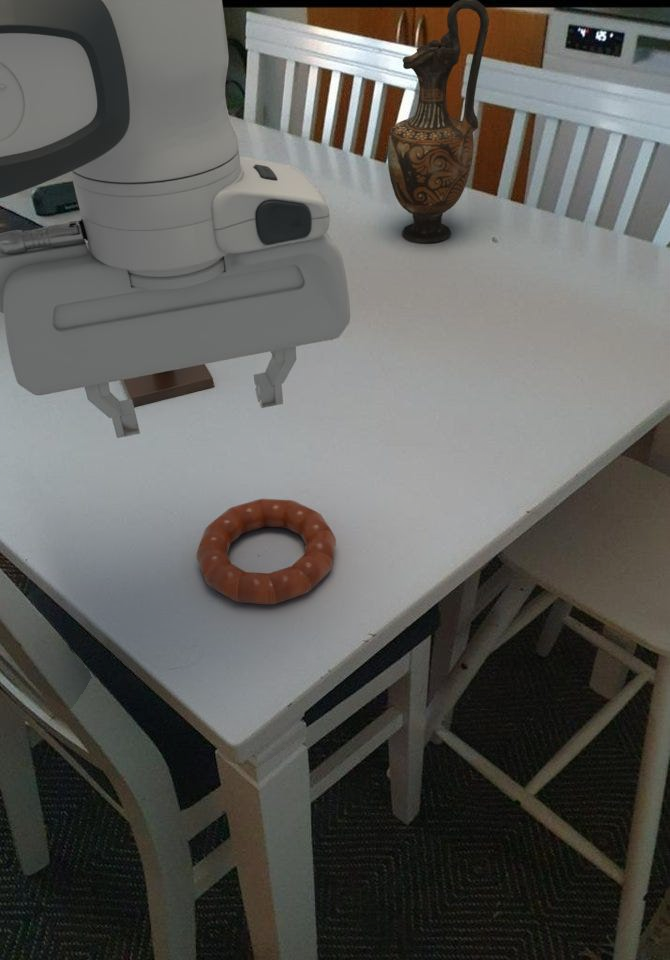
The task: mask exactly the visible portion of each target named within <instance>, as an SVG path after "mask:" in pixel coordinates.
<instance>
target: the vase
mask: <svg viewBox="0 0 670 960" xmlns="http://www.w3.org/2000/svg"><path fill="white" fill-rule="evenodd" d="M463 9H466V10H471V11H473V12H475V13H476V14H477V16H478V18H479V30H478V33H477V38H476V43H475V47H474V50H473V56H472V59H471V63H470V69H469V74H468V80H467V85H466V90H465V91H466V92H465V99H464V109H463V116H462V120H461V119H459V118H456V117H453V116H452V115H451V114H450V113H449V110H448V103H447V86H448V80H449V77H450V75H451V72H452V70H453V68H454V66H455V65H457V64H458V63H459V61H460V55H461V42H460V37H459V23H458V17H457V15H458V13H459V12H460V10H463ZM446 23H447V24H446V25H447V29H448V30H447V32H446V33H445V34H444V35H442V36H441V38H440V40H439V39H432V40H430V41H429V42H428V43H425V44H422V45H421V46H419V47H417V48H416V51H415V52H414V53H413V54H412V55H407V56H404V57H403V58H402V63H403V64H402V67H403V69H404V70H410V69H411V70H412V71H413V72H414V74H415V76H416V78H417V80H418V84H419V85H418V87H419V92H418V102H417V107H416V110H415V113H414V115H413V116H412V117H410V118H409V117H408V118H405V119H403V120H401V121H399V122H397V123H395V124H394V125H393V126H392V127H391V128H390V130H389V131H388V135H387V143H386V144H387V146H386V147H387V148H386V151H387V152H386V154H387V155H386V157H387V166H388V175H389V179H390V182H391V183H390V184H391V187H392V190H393V193H394V196H395V198H396V200H397V202H398V204H399V205H400V206H401V208H402V209H404V210H405V211H407V213H409V214H411V215H412V220H413V222H412V223H410V224H407V225H406V226H404V227H403V228H402V232H401V236H402V238H404V239H405V240H406V241H408V242H411V243H417V244H433V243H440V242H443V241H445V240H447V239H449V238H450V237H451V236H452V230H451V229H450V227H449V226H447V225H446V224H444V223H442V221H443V215H444V213H446V212H447V211H449V210H450V209H452V208H453V207H454V206H455V205H456V204H457V203H458V202H459V200H460V198H461V196H462V194H463V193H464V191H465V188H466V186H467V183H468V180H469V176H470V173H471V168H472V165H473V164H472V163H473V157H474V144H475V143H474V132H475V131H476V130H477V129H479V121H478V117H477V115H476V113H475V97H476V91H477V83H478V78H479V73H480V68H481V63H482V59H483V53H484V49H485V44H486V40H487V37H488V31H489V29H488V28H489V25H490V19H489V14H488V10H487V8H486V7H485V5H483V4H482V3H481V1H479V0H458V1H455V2H454V3H453V4H452V6H450V8H449V10H448V13H447V17H446Z"/></svg>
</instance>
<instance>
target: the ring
mask: <svg viewBox="0 0 670 960" xmlns="http://www.w3.org/2000/svg"><path fill="white" fill-rule="evenodd" d="M264 527H265V528H266V527H267V528H282V529H288V530H289V531H291V532H293V533H295V534H297V535H299V536H300V537H301V538H302V540H303V541H304V544H305V548H304V552H303V555H302V556H301V557H299V559H297V560H296V561H295V563H293V564H292V565H291V566H287V567H285V568H282V569H279V570H275V571H272V572H268V573H267V572H253V571H246V570H244V569H242V568H240V567H239V566H237V565H235V564H233V563H232V562H231V560H230V557H229V555H228V553H229V549H230V547H231V544H232V543H234V542H235V541H236V540H237V539H238V538H240V537H241V536H242V535H243V534H244V533H248V532H252V531H255V530H258V529H261V528H264ZM336 546H337V540H336V536H335V534H334V532H333V531H332V529H331V527H330V526H329V525H328V523H327V521H326V520H325V518H324V516H323V515H322V514H321V513H320V512H318V511H316V510H315V509H313V508H310V507H308V506H306V505H304V504H302V503H300V502H297V501H296V500H292V499H276V498H259V499H255V500H252V501H248V502H245V503H242V504H238V505H234V506H231V507H230V508H228V509H226V511H224V512H223V513H222V514H221V515H219V516H218V517H217V518H216V519H214V520H213V521H212V522H211V523H209V524H208V525H207V526H206V527H205V529H204V531H203V534H202V537H201V540H200V541H199V545H198V547H197V551H196V560H197V564H198V566H199V568H200V570H201V573H202V575H203V578H204V580H205V582H206V584H207V585H208V586H209V587H210V588H212V589H213V590H215V591H216V592H218V593H220V594H222V595H223V596H225V597H227V598H228V599H231V600H232V601H234V602H235V603H241V604H242V603H244V604H256V605H257V604H258V605H277V604H280V603H282V602H285V601H288V600H291V599H294V598H297V597H300V596H303V595H306V594H307V593H309V592H310V591H311V590H312V589H313V588H314V587H316V585H317V584H319V582H321V580H322V579H324V578H325V577H326V576H327V575H328V574H329V572H330V571H331V570H332V567H333V563H334V557H335V550H336Z"/></svg>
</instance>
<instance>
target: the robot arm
mask: <svg viewBox="0 0 670 960" xmlns="http://www.w3.org/2000/svg"><path fill="white" fill-rule="evenodd" d="M225 22H226V21H225V13H224V5H223V0H0V199H3V198H6V197H10V196H13V195H15V194H19V193H21V192H24V191H27V190H29V189H31V188H34V187H37V186H39V185H42V184H43V183H44V184H45V183H46V182H49V181H52V180H54V179H56V178H59V177H61V176H63V175H66V174H69V173H70V175H71V180H72V184H73V187H74V191H75V196H76V201H77V204H78V208H79V213H80V216H81V218H80V220H75V221H69V222H63V223H57V224H50V225H47V226H42V227H39V228H35V229H31V230H22V229H15V230H9V231H6V232H5V231H4V232H2V233H0V313H1V314H3V322H4V331H5V337H6V345H7V350H8V354H9V358H10V363H11V366H12V370H13V374H14V378H15V381H16V383H17V385H18V386H20V387H21V388H23V389H24V390H25V391H27V392H29V393H30V394H32V395H34V396H44V395H51V394H55V393H60V392H61V393H62V392H65V391H70V390H76V389H82V388H84V391H85V394H86V397H87V401H89V402H90V403H91V404H92V405H93V406H94V407H96V409H98V410H99V411H100V412H102V414H104V415H105V416H107V417H108V418H109V419H111V420H112V425H113V428H114V431H115V437H116V439H120V438H124V437H125V438H126V437H131V436H135V435H139V434H141V432H140V427H139V423H138V419H137V414H136V410H135V407H134V405H133V401H132V399H129V398H128V399H124V400H123V399H122V400H120V399H118V398H117V396H115V395H114V394H113V393H112V392H111V390H110V383H112V382H118V381H122V380H124V379H129V378H134V377H140V376H145V375H150V374H155V373H160V372H166V371H171V370H176V369H181V368H186V367H192V366H197V365H202V364H205V365H207V364H212V363H217V362H218V363H219V362H223V361H228V360H232V359H233V360H234V359H238V358H244V357H248V356H254V355H260V354H264V353H270V354H271V355H272V356H271V357H270V360H269V362H268V364H267V366H266V369H265V371H264V372H260V373H256V374H253V380H254V385H255V397H256V400H257V402H258V403H259V407H260V408H261V409H264V408H269V407H274V406H279V405H280V406H281V405H283V404H284V396H283V386H282V385H283V384H284V383H285V381H286V379H287V377H288V376H289V374H290V372H291V370H292V368H293V367H294V365H295V363H296V361H297V349H296V348H297V347H300V346H306V345H312V344H317V343H322V342H328V341H333V340H337V339H339V338H340V337H341V336H342V334H343V333H344V332H345V330H346V329H347V327H348V326H349V324H350V322H351V303H350V291H349V284H348V278H347V272H346V268H345V267H346V266H345V263H344V259H343V256H342V253H341V251H340V249H339V247H338V246H337V244H336V243H335V242H334V241H333V239H332V238H331V236H330V235H329V234H328V230H329V229H330V219H331V217H330V216H331V215H330V209H329V205H328V203H327V201H326V199H325V197H324V195H323V194H322V192H321V191H320V190H319V188H318V187H317V186H316V185H315V183H314V182H313V181H312V180H311V179H309V177H308V176H306V175H305V174H304V173H303V172H301V171H300V170H299V169H297V168H296V167H294V166H292V165H289V164H285V163H279V162H275V161H267V160H262V159H257V158H253V157H252V158H251V157H246V156H241V155H240V150H239V141H238V136H237V132H236V130H235V128H234V125H233V123H232V120H231V118H230V117H231V116H230V115H229V109H228V105H227V97H226V84H227V83H226V80H227V76H228V75H227V74H228V70H229V69H228V68H229V57H230V56H229V47H228V37H227V29H226V23H225ZM86 241H87V242H86Z"/></svg>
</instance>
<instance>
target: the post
mask: <svg viewBox="0 0 670 960" xmlns="http://www.w3.org/2000/svg"><path fill="white" fill-rule="evenodd" d="M206 365H207V364H202V365H197V366H192V367H186V368H181V369H176V370H171V371H166V372H160V373H155V374H150V375H145V376H140V377H134V378H129V379H124V380H121V383H122V385H123V387H124V390H125V392H126V394H127V396H128V399H132V401H133V405H134V408H135V407H140V406H144V405H147V404H151V403H156V402H160V401H163V400H167V399H168V400H169V399H171V398H176V397H180V396H183V395H188V394H191V393H192V394H193V393H196V392H200V391H205V390H208V389H212V388H214V387H215V383H214V377H213V375H212V374H211V372H210V370H209V369H208V367H207V366H206Z"/></svg>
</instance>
